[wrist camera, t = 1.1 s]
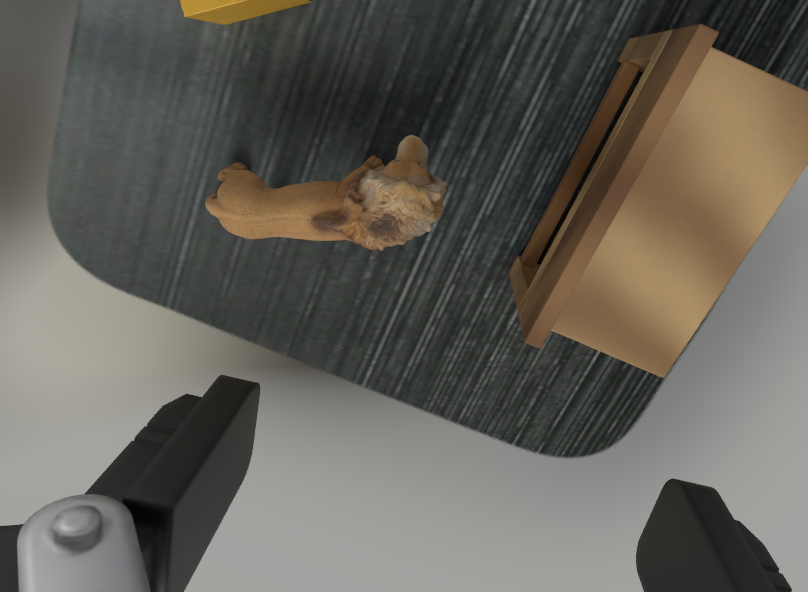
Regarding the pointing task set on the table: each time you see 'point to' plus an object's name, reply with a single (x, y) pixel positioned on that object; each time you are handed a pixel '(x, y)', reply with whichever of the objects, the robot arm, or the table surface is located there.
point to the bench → (662, 200)
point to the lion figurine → (336, 202)
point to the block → (234, 9)
